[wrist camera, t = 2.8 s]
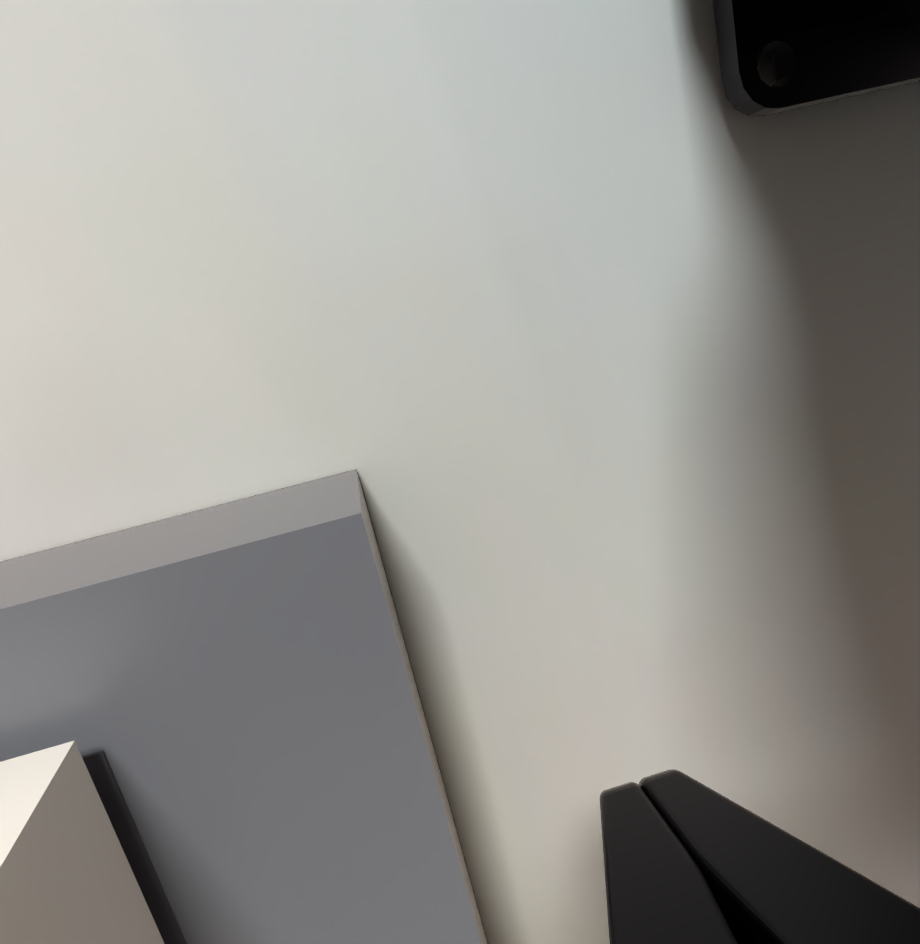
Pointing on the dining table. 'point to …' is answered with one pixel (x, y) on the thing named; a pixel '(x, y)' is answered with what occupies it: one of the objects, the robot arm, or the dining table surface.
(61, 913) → the tab
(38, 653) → the switch panel
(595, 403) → the dining table surface
